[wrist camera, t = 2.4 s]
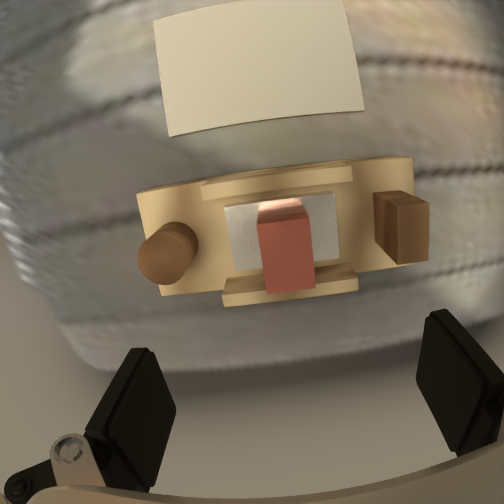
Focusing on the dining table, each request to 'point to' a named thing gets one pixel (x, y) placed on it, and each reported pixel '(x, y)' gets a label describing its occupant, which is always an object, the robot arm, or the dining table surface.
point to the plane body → (276, 185)
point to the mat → (256, 63)
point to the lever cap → (284, 237)
